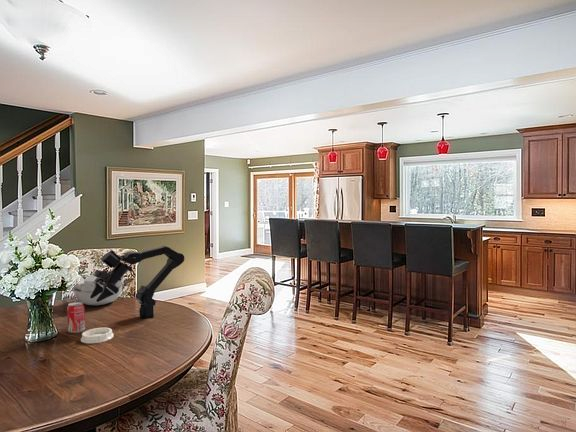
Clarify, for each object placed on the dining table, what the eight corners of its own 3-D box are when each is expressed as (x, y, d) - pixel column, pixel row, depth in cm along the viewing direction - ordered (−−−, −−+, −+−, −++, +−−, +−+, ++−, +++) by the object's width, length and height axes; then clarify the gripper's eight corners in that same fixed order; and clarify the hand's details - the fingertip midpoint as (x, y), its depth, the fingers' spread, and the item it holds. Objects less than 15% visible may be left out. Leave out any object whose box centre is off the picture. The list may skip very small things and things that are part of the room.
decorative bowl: (72, 300, 243) (71, 275, 242) (125, 295, 253) (124, 272, 253) (63, 313, 215) (62, 285, 214) (123, 307, 225) (123, 281, 224)
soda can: (88, 328, 189) (87, 301, 188) (79, 334, 182) (78, 305, 181) (74, 328, 190) (73, 301, 189) (64, 333, 183) (63, 305, 182)
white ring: (115, 332, 184) (115, 326, 184) (111, 341, 172) (111, 335, 172) (84, 334, 181) (84, 328, 181) (77, 344, 168) (77, 338, 168)
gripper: (98, 261, 200) (74, 286, 193) (111, 265, 186) (86, 293, 179) (115, 274, 206) (92, 299, 199) (128, 280, 192) (105, 307, 185)
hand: (93, 299), depth 190 cm, fingers open, 9 cm apart
